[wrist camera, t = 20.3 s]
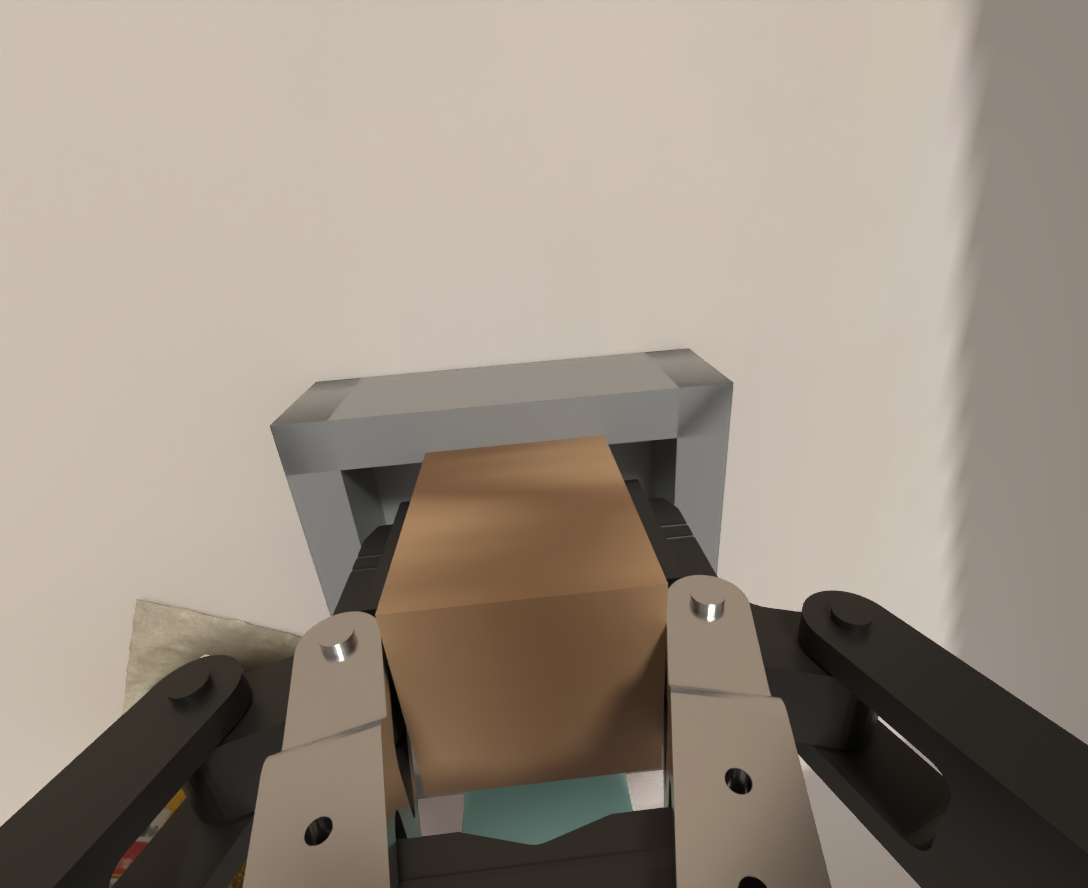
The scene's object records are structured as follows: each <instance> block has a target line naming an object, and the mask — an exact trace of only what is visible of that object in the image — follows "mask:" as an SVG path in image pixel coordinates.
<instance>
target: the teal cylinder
mask: <svg viewBox="0 0 1088 888" xmlns="http://www.w3.org/2000/svg"><path fill="white" fill-rule="evenodd" d="M631 811H633V809H632V805H631V800H630V795H629V791H628V786H627V781H626V777H625V773H620V774H611V775H603V776H595V777H586V778H578V779H569V780H561V781H552V782H544V783H535V784H527V785H518V786H510V787H502V788H493V789H485V790H476V791H468V792H465V797H464V813H463V828H462V833H467V834H473V835H479V836H484V837H490V838H495V839H501V840H507V841H512V842H518V843H524V844H530V845H537V844H542V843H545V842H547V841H550V840H552V839H554V838H557V837H559V836H561V835H564V834H566V833H568V832H571V831H573V830H575V829H578V828H580V827H582V826H585V825H587V824H589V823H591V822H594V821H596V820H598V819H601V818H603V817H605V816H608V815H610V814H615V813H623V812H631Z"/></svg>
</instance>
